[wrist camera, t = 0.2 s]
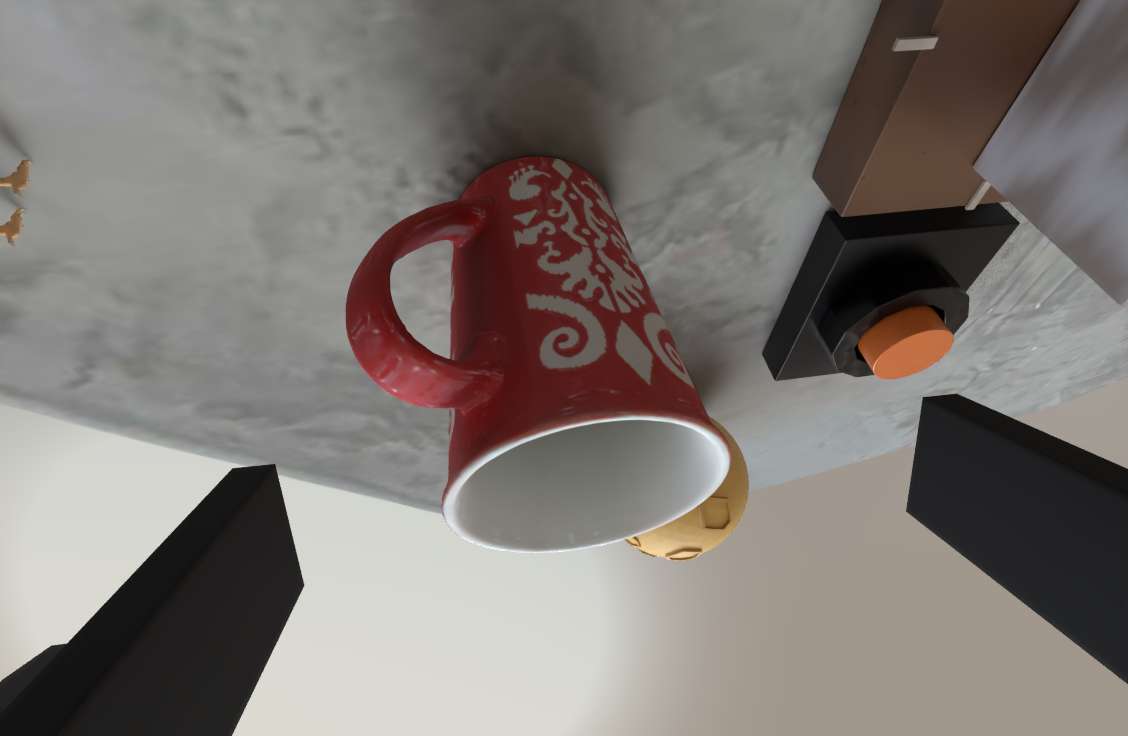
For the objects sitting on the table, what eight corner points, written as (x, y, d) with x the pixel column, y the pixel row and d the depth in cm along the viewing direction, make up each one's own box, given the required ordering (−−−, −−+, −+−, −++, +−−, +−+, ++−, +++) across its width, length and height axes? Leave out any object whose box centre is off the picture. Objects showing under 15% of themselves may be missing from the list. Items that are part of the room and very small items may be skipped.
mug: (670, 219, 26) (782, 476, 18) (533, 323, 31) (574, 570, 22) (462, 4, 18) (494, 293, 10) (313, 185, 22) (248, 496, 14)
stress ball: (740, 373, 37) (802, 513, 31) (694, 449, 45) (737, 574, 39) (596, 379, 35) (632, 530, 29) (573, 457, 43) (598, 591, 37)
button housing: (825, 211, 28) (864, 265, 25) (992, 196, 28) (1046, 247, 26) (761, 354, 36) (786, 405, 34) (891, 339, 37) (924, 387, 35)
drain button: (877, 308, 28) (895, 334, 27) (950, 300, 29) (970, 325, 28) (845, 358, 31) (860, 383, 30) (911, 350, 32) (928, 374, 31)
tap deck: (962, -298, 15) (1045, -291, 13) (1417, -296, 16) (1553, -289, 14) (787, 181, 26) (817, 224, 24) (1065, 157, 27) (1114, 196, 25)
